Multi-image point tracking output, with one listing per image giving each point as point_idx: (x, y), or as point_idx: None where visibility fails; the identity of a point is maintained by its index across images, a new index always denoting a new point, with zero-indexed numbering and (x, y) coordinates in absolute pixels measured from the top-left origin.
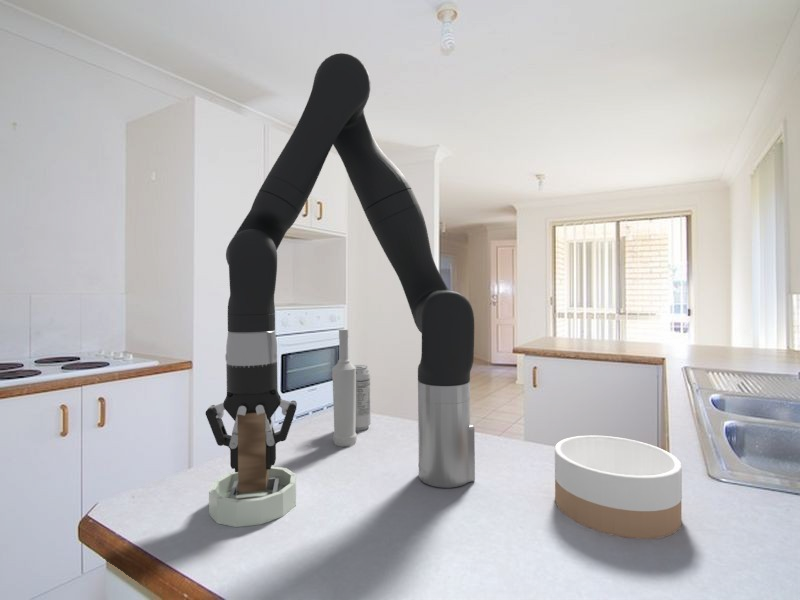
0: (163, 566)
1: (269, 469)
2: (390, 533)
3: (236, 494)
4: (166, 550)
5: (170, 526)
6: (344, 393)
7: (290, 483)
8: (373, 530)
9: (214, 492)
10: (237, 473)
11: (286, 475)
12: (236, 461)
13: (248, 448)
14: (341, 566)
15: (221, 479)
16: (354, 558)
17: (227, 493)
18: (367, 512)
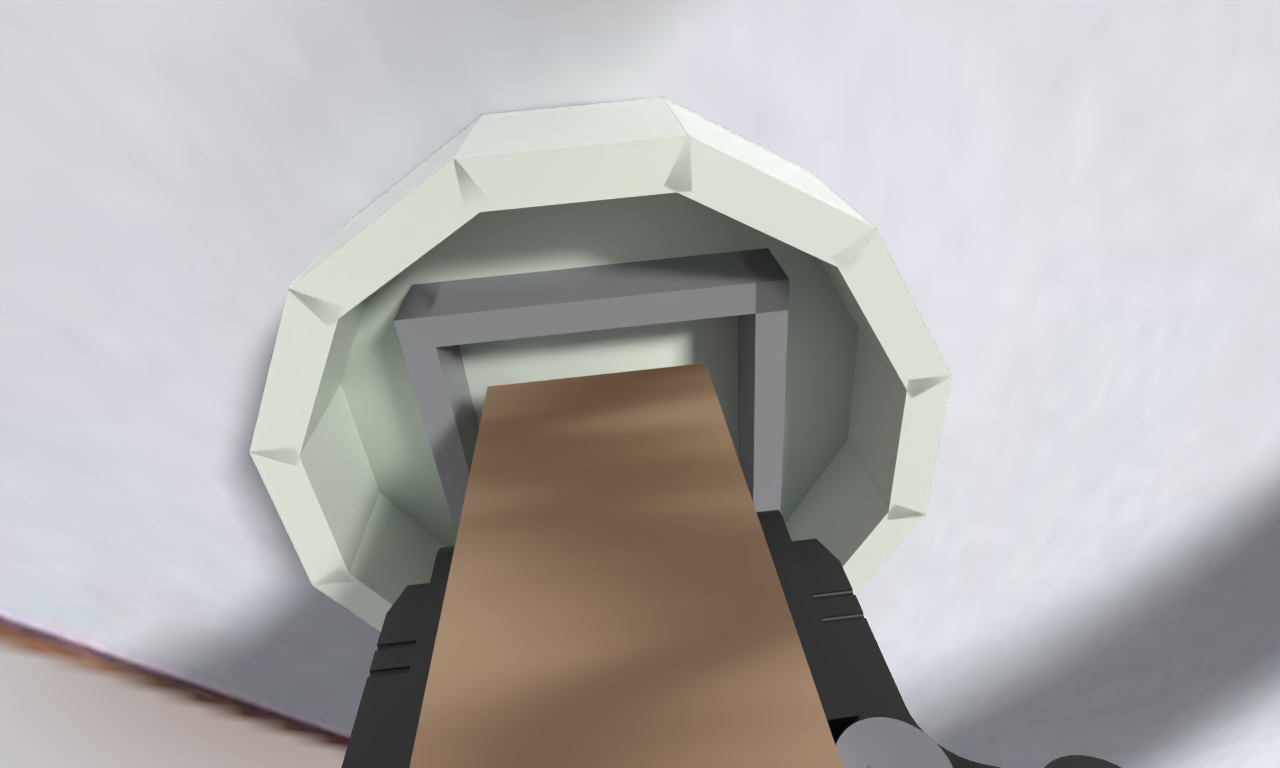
0: None
1: (696, 199)
2: (1211, 641)
3: (464, 384)
4: (329, 699)
5: (203, 561)
6: None
7: (890, 515)
8: (1161, 624)
9: (364, 597)
10: (382, 284)
11: (861, 313)
12: None
13: None
14: (976, 761)
15: (293, 414)
16: (1027, 737)
17: (372, 328)
18: (1211, 508)
